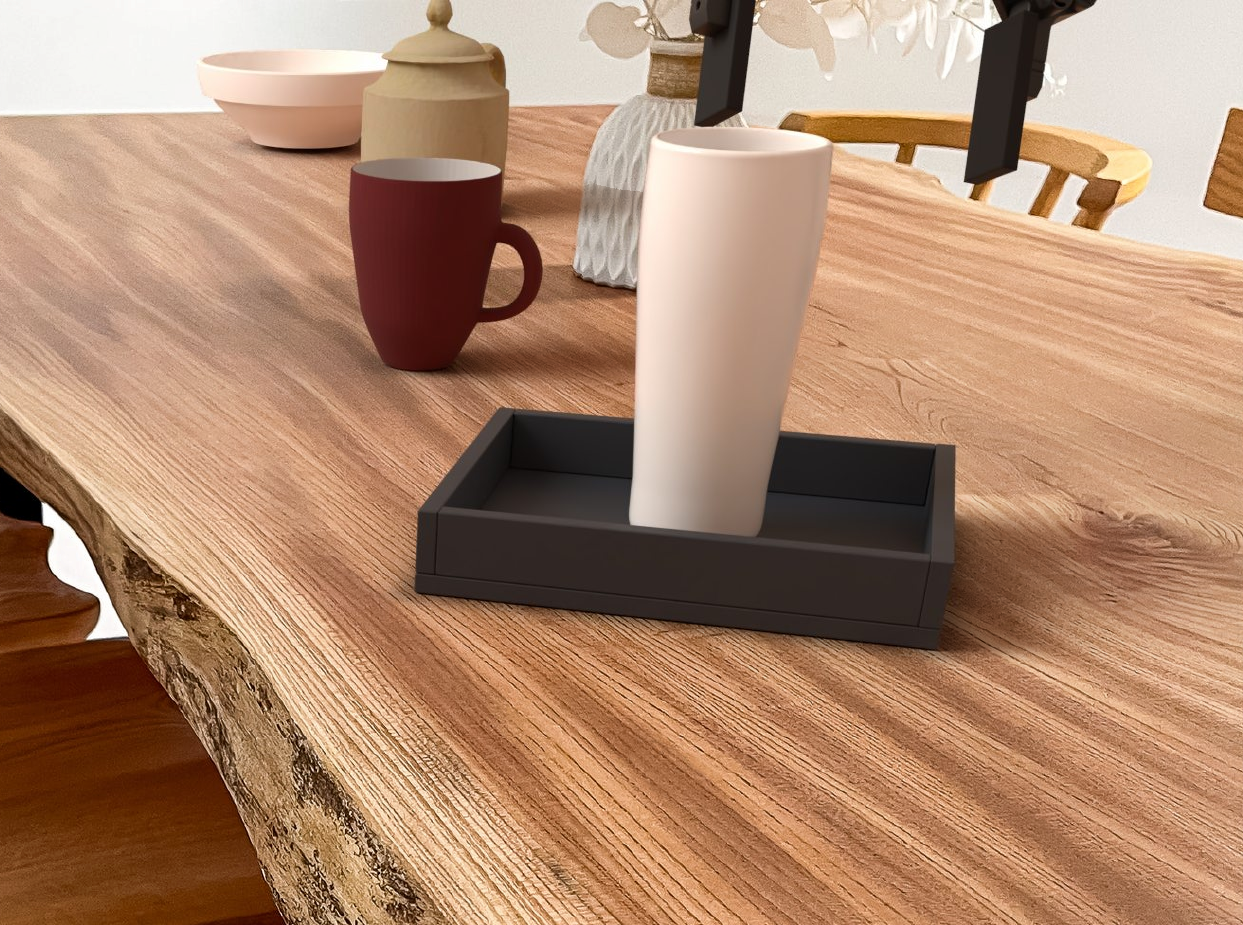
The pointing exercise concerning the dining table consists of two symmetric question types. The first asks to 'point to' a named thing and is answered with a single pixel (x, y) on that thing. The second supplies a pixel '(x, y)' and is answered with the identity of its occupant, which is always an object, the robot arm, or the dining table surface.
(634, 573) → the tray
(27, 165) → the dining table surface
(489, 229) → the mug
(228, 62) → the bowl
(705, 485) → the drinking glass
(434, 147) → the sugar bowl
